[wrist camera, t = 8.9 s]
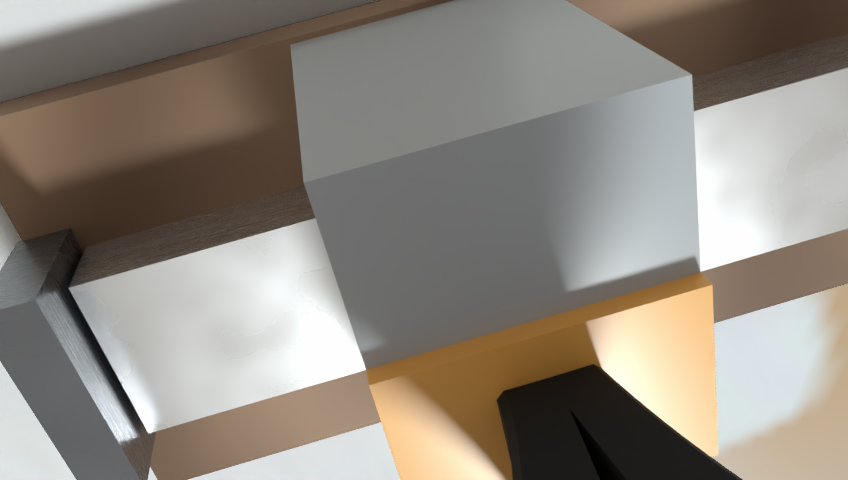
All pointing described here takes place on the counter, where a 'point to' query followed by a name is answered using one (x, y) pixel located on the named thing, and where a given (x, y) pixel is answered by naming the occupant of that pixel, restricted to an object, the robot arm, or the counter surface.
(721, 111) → the din rail
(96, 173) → the mounting plate
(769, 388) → the counter surface
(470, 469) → the block
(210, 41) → the counter surface
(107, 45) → the counter surface
